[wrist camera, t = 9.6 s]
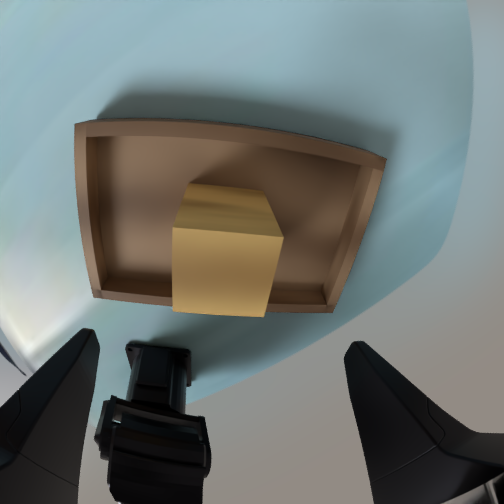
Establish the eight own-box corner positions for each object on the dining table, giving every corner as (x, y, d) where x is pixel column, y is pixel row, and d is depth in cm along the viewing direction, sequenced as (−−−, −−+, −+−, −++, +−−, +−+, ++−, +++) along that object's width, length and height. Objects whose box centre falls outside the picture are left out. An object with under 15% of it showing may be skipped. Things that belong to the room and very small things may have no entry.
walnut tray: (323, 293, 22) (332, 312, 20) (103, 277, 19) (93, 297, 17) (368, 150, 16) (386, 159, 14) (92, 119, 13) (74, 123, 11)
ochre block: (251, 254, 19) (263, 316, 13) (184, 248, 18) (172, 311, 13) (263, 190, 16) (283, 237, 11) (188, 183, 16) (172, 227, 10)
